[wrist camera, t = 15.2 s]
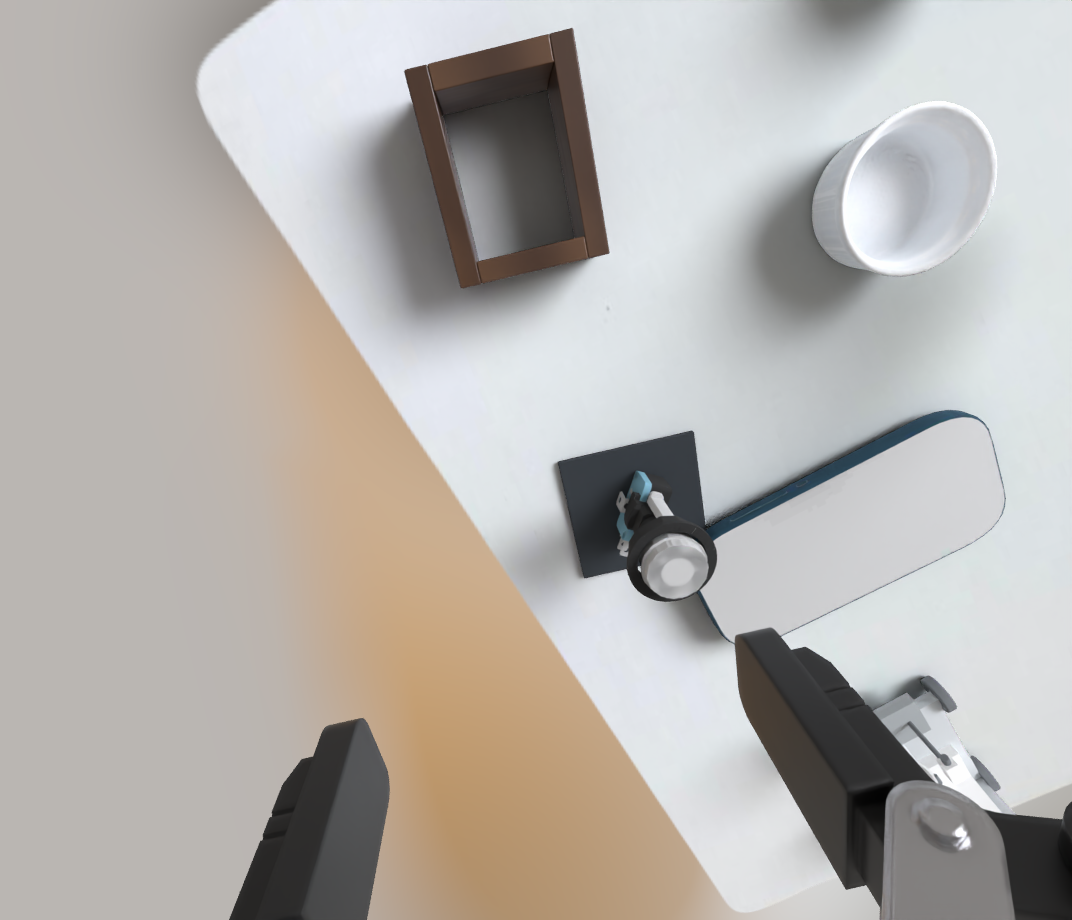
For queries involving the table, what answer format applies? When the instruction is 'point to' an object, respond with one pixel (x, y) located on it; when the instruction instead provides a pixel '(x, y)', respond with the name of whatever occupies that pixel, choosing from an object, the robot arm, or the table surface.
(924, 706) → the toy car
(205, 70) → the table surface
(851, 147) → the ramekin
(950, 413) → the external hard drive
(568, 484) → the mat
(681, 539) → the push button
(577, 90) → the holder
